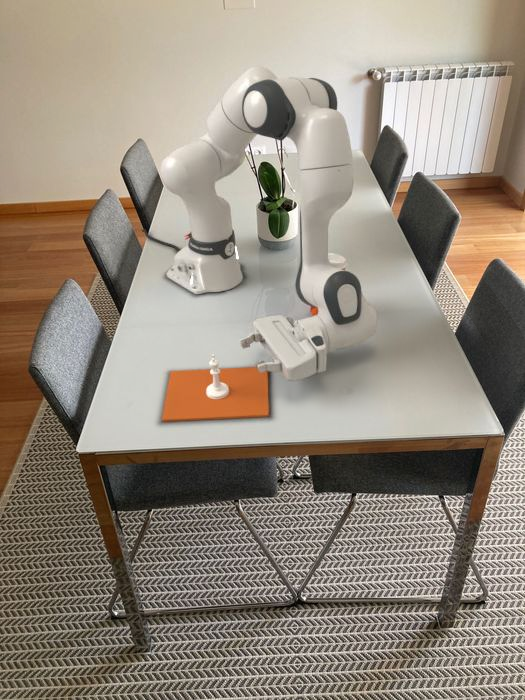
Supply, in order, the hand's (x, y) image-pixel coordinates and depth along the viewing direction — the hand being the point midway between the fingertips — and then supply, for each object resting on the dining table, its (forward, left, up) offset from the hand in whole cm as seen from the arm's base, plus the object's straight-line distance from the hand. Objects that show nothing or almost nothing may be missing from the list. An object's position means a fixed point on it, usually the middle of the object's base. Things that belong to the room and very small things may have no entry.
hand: (248, 355), depth 127 cm
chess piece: (-4, -7, -7) cm, 11 cm away
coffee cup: (-1, +31, -7) cm, 32 cm away
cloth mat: (-4, -7, -8) cm, 11 cm away
